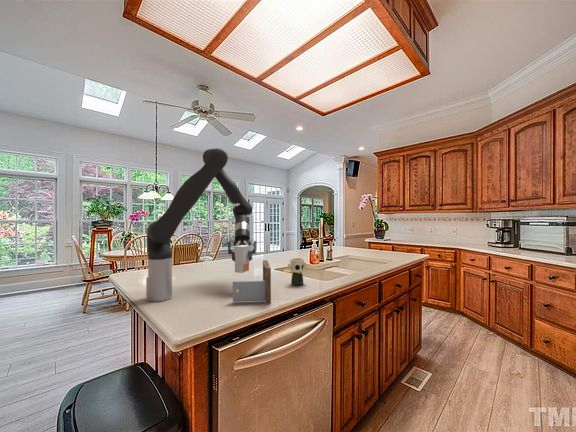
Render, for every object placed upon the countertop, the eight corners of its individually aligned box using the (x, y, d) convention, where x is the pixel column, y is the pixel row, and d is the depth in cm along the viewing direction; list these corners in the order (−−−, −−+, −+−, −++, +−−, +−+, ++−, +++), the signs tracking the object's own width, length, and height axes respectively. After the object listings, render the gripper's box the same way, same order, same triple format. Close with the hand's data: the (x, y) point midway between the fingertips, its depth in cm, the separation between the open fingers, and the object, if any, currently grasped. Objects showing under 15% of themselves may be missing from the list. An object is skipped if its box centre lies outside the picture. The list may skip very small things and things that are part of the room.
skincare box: (242, 273, 116) (242, 246, 116) (234, 272, 118) (234, 246, 118) (249, 270, 122) (249, 245, 122) (241, 270, 123) (241, 244, 123)
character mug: (291, 287, 126) (291, 260, 126) (284, 284, 133) (284, 258, 133) (310, 284, 132) (309, 259, 132) (302, 281, 138) (302, 257, 138)
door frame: (265, 303, 103) (265, 268, 103) (263, 290, 121) (262, 260, 121) (270, 303, 103) (270, 267, 103) (267, 290, 122) (267, 260, 122)
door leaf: (266, 302, 103) (266, 282, 103) (232, 303, 102) (232, 282, 102) (266, 300, 106) (266, 280, 106) (233, 301, 105) (233, 281, 105)
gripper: (227, 228, 126) (225, 255, 114) (256, 227, 128) (258, 254, 117) (228, 238, 131) (226, 265, 120) (256, 237, 134) (257, 264, 122)
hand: (242, 260), depth 118 cm, fingers closed on skincare box, 6 cm apart
